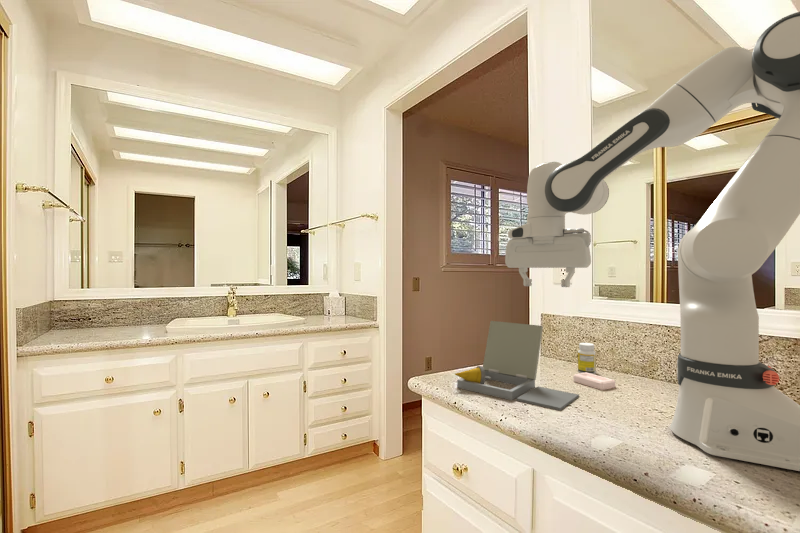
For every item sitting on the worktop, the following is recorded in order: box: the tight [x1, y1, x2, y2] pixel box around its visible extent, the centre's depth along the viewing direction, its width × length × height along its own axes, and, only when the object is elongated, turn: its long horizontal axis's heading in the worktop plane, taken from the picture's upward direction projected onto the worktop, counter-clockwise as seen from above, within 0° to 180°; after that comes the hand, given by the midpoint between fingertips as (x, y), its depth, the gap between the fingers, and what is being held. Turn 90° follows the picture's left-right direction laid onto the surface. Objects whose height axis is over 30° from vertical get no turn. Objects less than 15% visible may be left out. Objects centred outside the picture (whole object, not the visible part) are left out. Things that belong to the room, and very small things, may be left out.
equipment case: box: [456, 320, 544, 401], centre depth 107 cm, size 15×20×15 cm
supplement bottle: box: [577, 342, 597, 375], centre depth 118 cm, size 5×5×8 cm
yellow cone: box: [454, 365, 491, 384], centre depth 104 cm, size 5×5×10 cm
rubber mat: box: [516, 386, 580, 411], centre depth 95 cm, size 10×12×1 cm
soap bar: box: [572, 372, 616, 391], centre depth 106 cm, size 5×9×2 cm, turn 26°
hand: (546, 286), depth 100 cm, fingers open, 8 cm apart
